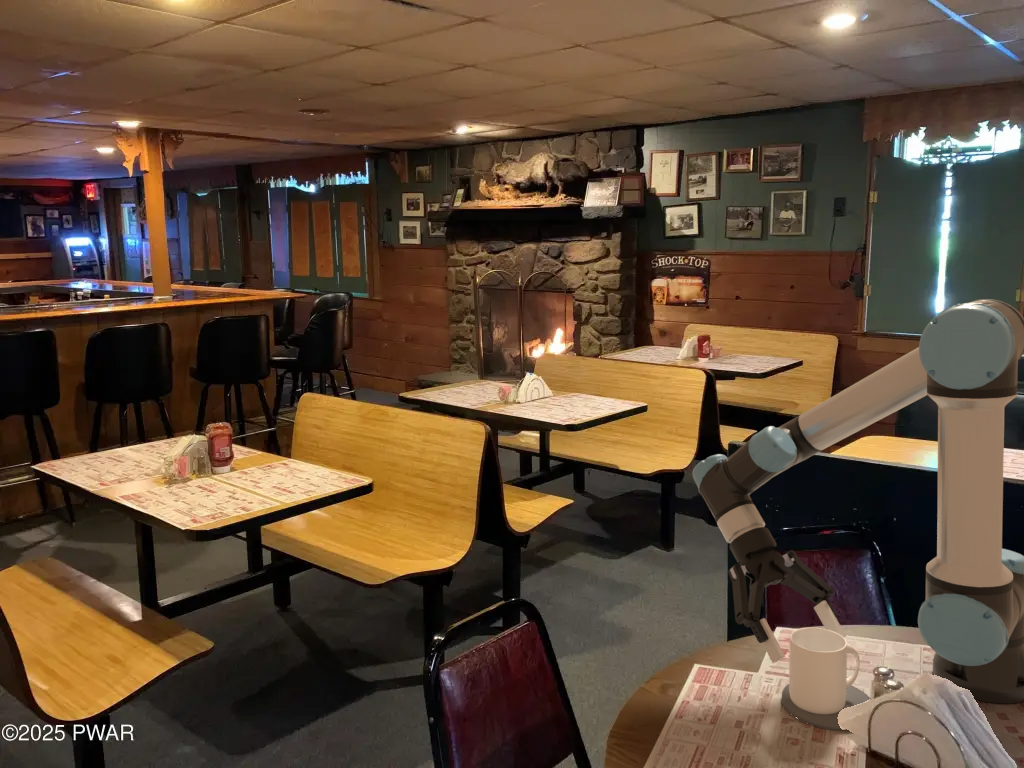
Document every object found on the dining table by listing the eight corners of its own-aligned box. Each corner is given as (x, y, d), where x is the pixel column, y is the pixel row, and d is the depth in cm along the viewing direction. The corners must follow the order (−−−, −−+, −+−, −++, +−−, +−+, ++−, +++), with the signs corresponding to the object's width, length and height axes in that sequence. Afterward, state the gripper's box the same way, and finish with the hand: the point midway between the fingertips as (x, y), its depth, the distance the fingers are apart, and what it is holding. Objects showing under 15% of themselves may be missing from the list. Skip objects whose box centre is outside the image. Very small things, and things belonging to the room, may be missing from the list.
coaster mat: (870, 689, 136) (870, 684, 135) (878, 736, 123) (878, 730, 122) (782, 678, 140) (782, 673, 140) (780, 722, 127) (780, 716, 127)
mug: (876, 707, 128) (878, 644, 127) (808, 720, 126) (809, 655, 124) (842, 681, 137) (844, 621, 135) (778, 692, 134) (779, 631, 133)
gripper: (788, 533, 152) (851, 640, 141) (681, 558, 142) (740, 676, 131) (810, 513, 147) (877, 623, 136) (701, 538, 136) (763, 660, 125)
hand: (810, 649), depth 133 cm, fingers open, 13 cm apart
